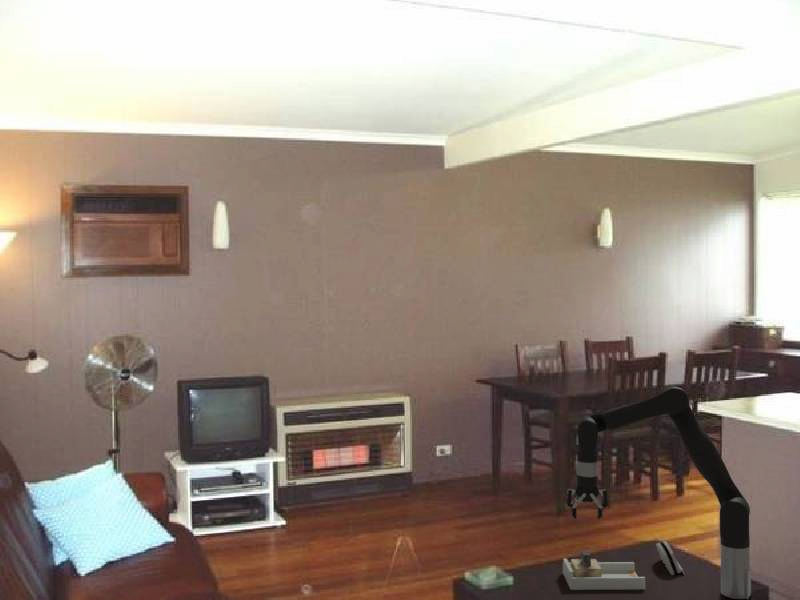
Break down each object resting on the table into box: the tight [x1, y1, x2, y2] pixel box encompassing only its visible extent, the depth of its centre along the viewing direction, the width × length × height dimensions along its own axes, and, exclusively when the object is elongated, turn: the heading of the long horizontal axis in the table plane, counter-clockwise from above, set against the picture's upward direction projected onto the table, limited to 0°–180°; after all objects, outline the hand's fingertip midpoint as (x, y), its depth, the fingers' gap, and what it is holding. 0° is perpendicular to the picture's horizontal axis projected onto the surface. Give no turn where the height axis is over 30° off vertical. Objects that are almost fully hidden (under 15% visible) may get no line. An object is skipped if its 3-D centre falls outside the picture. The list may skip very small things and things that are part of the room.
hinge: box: [655, 540, 686, 576], centre depth 312 cm, size 17×5×10 cm, turn 175°
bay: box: [562, 557, 646, 591], centre depth 299 cm, size 26×16×6 cm, turn 88°
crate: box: [570, 550, 602, 577], centre depth 299 cm, size 9×10×9 cm
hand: (586, 518), depth 299 cm, fingers open, 8 cm apart
